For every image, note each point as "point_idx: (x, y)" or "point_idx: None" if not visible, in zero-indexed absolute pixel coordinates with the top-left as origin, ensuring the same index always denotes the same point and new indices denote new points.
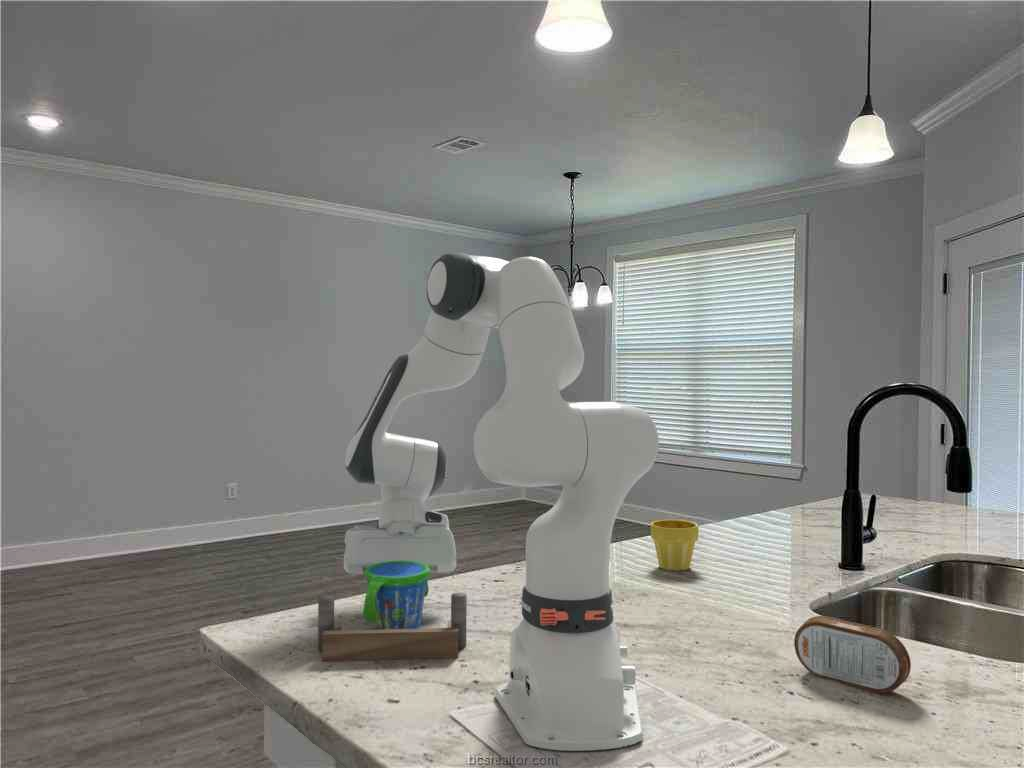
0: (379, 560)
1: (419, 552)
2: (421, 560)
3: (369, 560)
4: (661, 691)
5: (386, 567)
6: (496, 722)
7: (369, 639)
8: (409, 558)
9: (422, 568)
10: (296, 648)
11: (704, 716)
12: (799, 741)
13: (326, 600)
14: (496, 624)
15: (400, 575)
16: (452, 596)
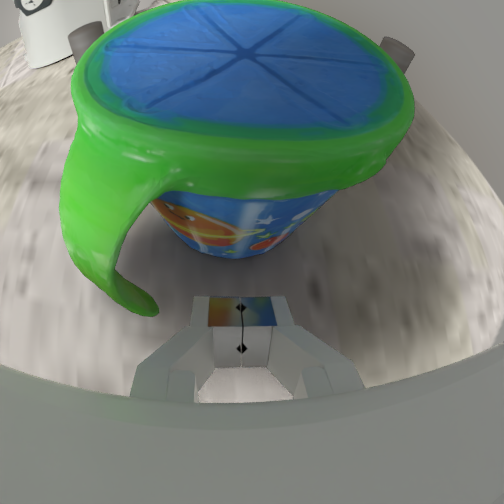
0: (434, 387)
1: (45, 472)
2: (53, 395)
3: (480, 370)
4: (11, 66)
5: (329, 95)
6: (146, 10)
7: None
8: (154, 437)
9: (109, 57)
10: (405, 136)
11: (22, 48)
12: (12, 45)
13: (390, 38)
14: (6, 223)
15: (230, 24)
16: (101, 22)
